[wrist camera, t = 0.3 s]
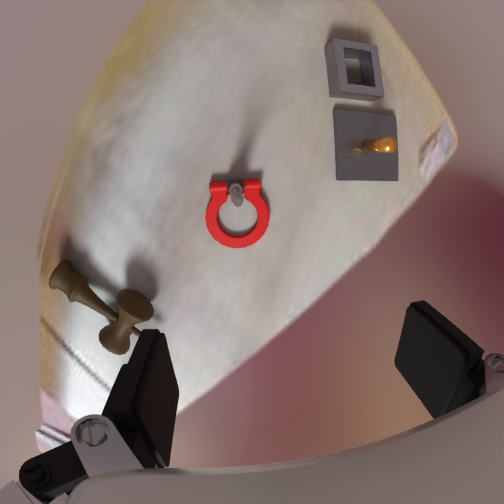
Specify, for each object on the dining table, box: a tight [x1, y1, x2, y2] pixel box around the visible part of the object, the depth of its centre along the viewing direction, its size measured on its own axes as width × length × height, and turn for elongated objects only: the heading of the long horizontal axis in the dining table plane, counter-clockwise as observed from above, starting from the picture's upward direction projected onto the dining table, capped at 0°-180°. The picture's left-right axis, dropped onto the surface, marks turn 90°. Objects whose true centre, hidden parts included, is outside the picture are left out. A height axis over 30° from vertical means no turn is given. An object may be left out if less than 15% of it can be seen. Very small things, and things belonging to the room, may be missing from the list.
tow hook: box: [206, 179, 269, 248], centre depth 33 cm, size 8×13×9 cm
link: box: [324, 38, 384, 101], centre depth 32 cm, size 8×7×4 cm
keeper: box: [333, 109, 398, 181], centre depth 34 cm, size 10×10×7 cm
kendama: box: [49, 260, 154, 355], centre depth 38 cm, size 6×10×20 cm
